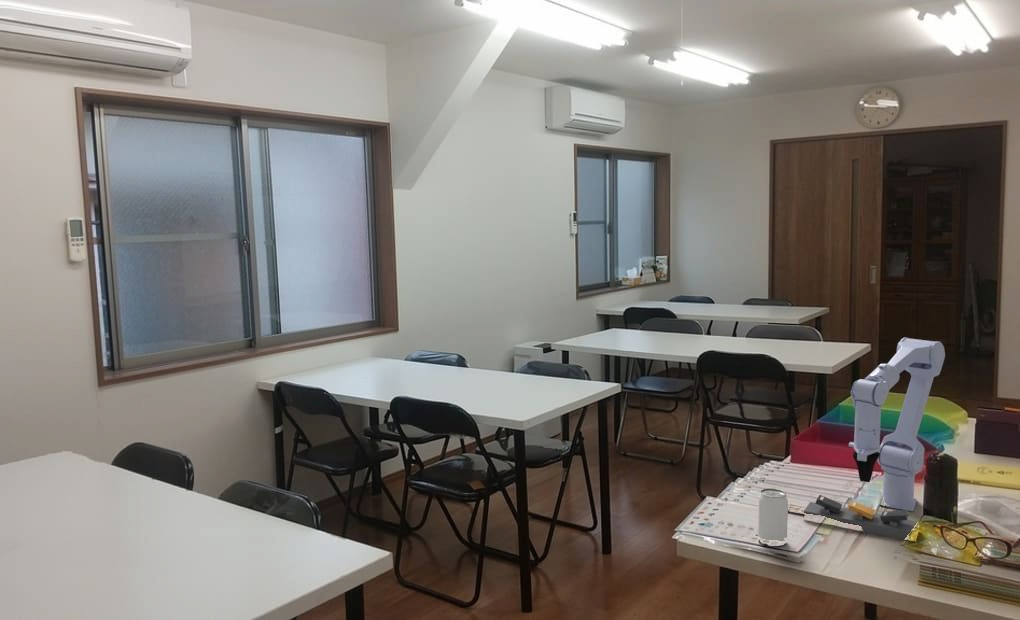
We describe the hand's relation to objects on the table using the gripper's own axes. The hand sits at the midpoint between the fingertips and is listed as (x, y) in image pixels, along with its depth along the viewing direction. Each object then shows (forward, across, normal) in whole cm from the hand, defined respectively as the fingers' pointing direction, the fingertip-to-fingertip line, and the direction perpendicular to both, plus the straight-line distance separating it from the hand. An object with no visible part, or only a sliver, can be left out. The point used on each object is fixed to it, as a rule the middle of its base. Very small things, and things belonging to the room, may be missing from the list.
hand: (865, 481), depth 186 cm
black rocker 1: (+6, +5, -8) cm, 11 cm away
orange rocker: (+6, +5, 0) cm, 8 cm away
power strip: (+10, +5, -2) cm, 11 cm away
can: (+10, +25, -16) cm, 31 cm away
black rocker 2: (+6, +5, +8) cm, 11 cm away
